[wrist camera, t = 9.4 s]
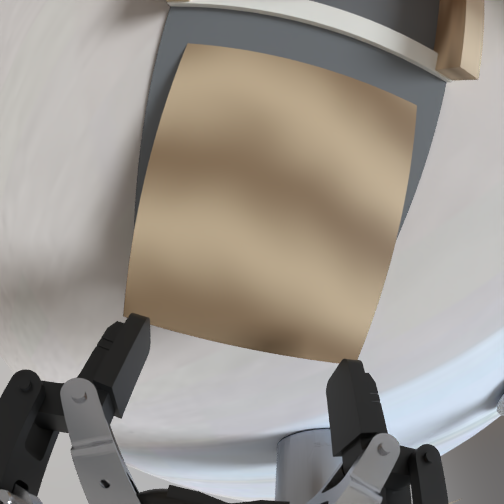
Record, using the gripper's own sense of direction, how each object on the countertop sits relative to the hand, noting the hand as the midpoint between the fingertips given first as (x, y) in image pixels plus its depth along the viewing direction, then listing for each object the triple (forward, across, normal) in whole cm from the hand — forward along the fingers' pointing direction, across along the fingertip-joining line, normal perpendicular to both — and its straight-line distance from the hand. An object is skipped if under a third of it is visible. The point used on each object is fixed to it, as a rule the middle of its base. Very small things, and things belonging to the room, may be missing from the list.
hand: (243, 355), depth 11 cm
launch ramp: (+6, 0, -5) cm, 8 cm away
